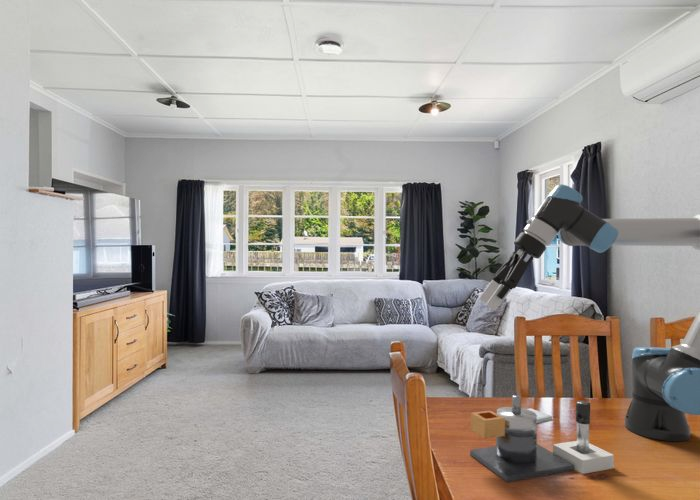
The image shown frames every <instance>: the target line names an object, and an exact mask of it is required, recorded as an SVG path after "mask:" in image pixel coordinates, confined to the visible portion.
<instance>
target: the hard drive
mask: <svg viewBox="0 0 700 500" xmlns="http://www.w3.org/2000/svg"><path fill="white" fill-rule="evenodd" d="M527 409H528V410H530V411H533V412H534V413H536V415H537V424H539V423H542V422H546V421H550V420H553V416H552V415H550V414H547V413H545V412H542V411H540V410H536V409H534V408H531V407H530V408H527Z"/></svg>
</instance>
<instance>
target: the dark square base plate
mask: <svg viewBox="0 0 700 500" xmlns="http://www.w3.org/2000/svg"><path fill="white" fill-rule="evenodd" d="M537 434H538V432H537V433H536V434H534V435H532V436H514V435H509V434H506V433H505V436H499V437H495V438H496V442H495V443H496V445H494V446H488V447H482V448H473V449H470V450H469V451H470V452H469V454H470V455H469V456H471V457H473V458H474V459H475V460H476V461H477V462H479V463H480V464H482V465H483V466H484V467H486V468H487V469H489V470H490V471H491V472H492V473H494V474H495V475H497V476H498V477H500V478H501V480H502V481H503V480H504V481H505V483H511V482H517V481H522V480H523V481H524V480H528V479H532V478H539V477H545V476H550V475H554V474H560V473H565V472H566V473H567V472H571V471H572V472H573V471H575V469H574V465H573V464H572V463H570V462H568V461H566V460H564V459H563V458H561V457H559V456H557V455H556V454H554V453H553V451H551V450H549V449H547V448H545V447H543V446H541V445H540V444H538V442H537V439H538V438H537V437H538V435H537Z"/></svg>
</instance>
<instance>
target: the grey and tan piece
mask: <svg viewBox="0 0 700 500" xmlns="http://www.w3.org/2000/svg"><path fill="white" fill-rule="evenodd" d="M528 409H529V408H524V407H523V408H522V396H521V395H518V394H512V396H511V406H503V407H499V408H497V409H496V412H494V411H492V410H484V411H476V412H474V411H473V412H471V413H470V430H471V431H472V432H473V433H475V434H477V435H478V436H480V437H481V438H483V439H491V438H492V439H493V438H496V437H499V436H505V433H506V434H509V435H514V436H532V435H534V434H536V433H537V434H538V432H537V431H538V430H537V429H538V428H537V427H538V423H537V415H536V413H534V412H533V411H530V410H528Z"/></svg>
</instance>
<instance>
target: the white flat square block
mask: <svg viewBox="0 0 700 500" xmlns="http://www.w3.org/2000/svg"><path fill="white" fill-rule="evenodd" d="M552 453H554V454H556V455H557V456H559V457H561V458H563V459H564V460H566V461H568V462H570V463H572V464H573V465H574V471H576V472H579V473H581V474H582V475H584V474H591V473H595V472H600V471H605V470H607V471H608V470H611V469H615V464H614V463H615V455H614V454H613V453H611V452H609V451H606V450H604V449H602V448H600V447H598V446H596V445H594V444H592V443H591V442H589V454H581V453H579V452H577V440H573V441H566V442H565V441H564V442H560V443H554V444H552Z"/></svg>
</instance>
